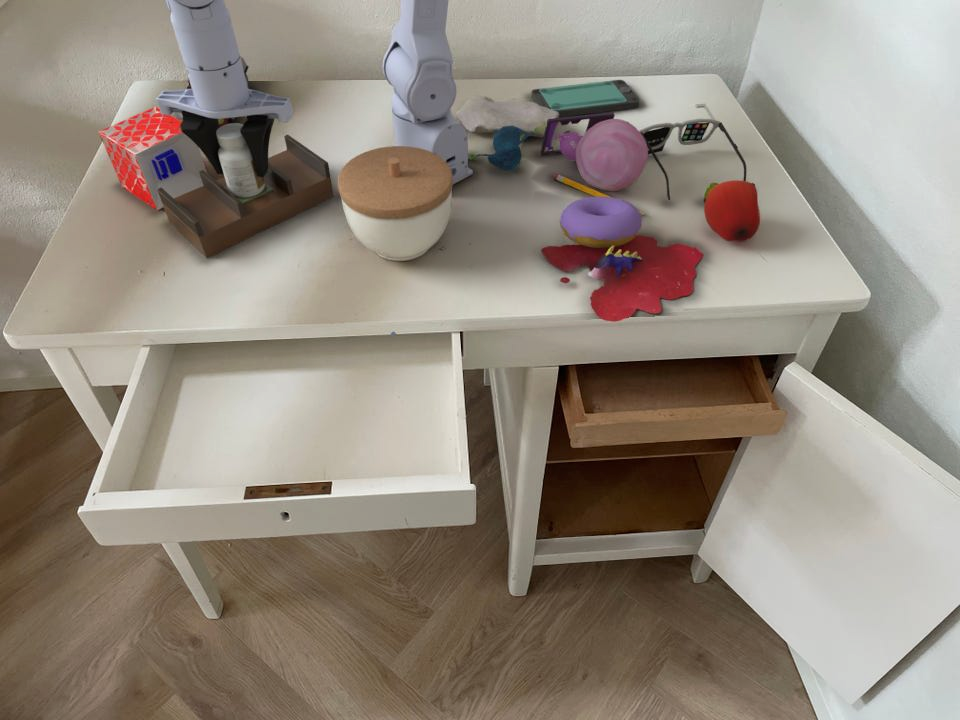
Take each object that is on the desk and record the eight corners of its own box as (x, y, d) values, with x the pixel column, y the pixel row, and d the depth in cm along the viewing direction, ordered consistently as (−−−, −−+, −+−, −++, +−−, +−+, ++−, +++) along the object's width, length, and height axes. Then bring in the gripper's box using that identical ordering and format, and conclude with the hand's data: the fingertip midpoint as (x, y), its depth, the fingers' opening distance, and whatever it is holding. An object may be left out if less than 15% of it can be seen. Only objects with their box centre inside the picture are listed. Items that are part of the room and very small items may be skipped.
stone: (472, 91, 107) (569, 100, 102) (472, 113, 109) (567, 123, 104) (443, 109, 99) (547, 120, 94) (444, 133, 101) (546, 145, 96)
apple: (786, 226, 81) (761, 164, 86) (747, 205, 78) (724, 142, 83) (732, 264, 87) (712, 203, 92) (694, 246, 83) (675, 184, 88)
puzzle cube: (174, 161, 96) (155, 106, 91) (210, 182, 93) (192, 127, 87) (121, 187, 92) (97, 131, 86) (156, 210, 89) (134, 154, 83)
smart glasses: (696, 128, 101) (708, 99, 97) (741, 201, 94) (756, 173, 90) (618, 138, 99) (627, 108, 95) (659, 214, 92) (671, 185, 88)
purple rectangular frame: (612, 107, 93) (546, 114, 92) (623, 139, 91) (555, 146, 90) (601, 142, 99) (538, 148, 98) (610, 172, 98) (547, 179, 96)
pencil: (557, 175, 94) (556, 172, 93) (646, 213, 88) (646, 210, 88) (554, 180, 94) (553, 177, 93) (643, 218, 88) (643, 215, 88)
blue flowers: (477, 161, 101) (472, 193, 96) (463, 137, 98) (458, 168, 93) (555, 129, 96) (555, 161, 91) (543, 104, 94) (542, 135, 89)
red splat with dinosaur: (655, 236, 91) (665, 203, 88) (729, 302, 81) (744, 268, 78) (532, 255, 84) (539, 220, 81) (598, 329, 74) (609, 293, 71)
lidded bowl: (456, 274, 81) (454, 192, 73) (345, 279, 80) (330, 196, 72) (452, 208, 89) (449, 128, 81) (351, 212, 89) (338, 131, 81)
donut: (632, 255, 78) (627, 213, 76) (553, 259, 83) (546, 219, 80) (651, 223, 86) (647, 184, 84) (578, 228, 90) (572, 191, 88)
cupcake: (630, 94, 91) (616, 112, 83) (667, 151, 93) (656, 173, 85) (574, 135, 96) (556, 155, 88) (610, 188, 98) (596, 212, 90)
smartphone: (641, 100, 106) (545, 111, 103) (639, 107, 107) (544, 119, 104) (622, 77, 111) (530, 87, 108) (621, 85, 112) (529, 95, 109)
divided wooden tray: (334, 196, 91) (328, 162, 87) (206, 258, 83) (194, 223, 79) (295, 168, 95) (287, 134, 92) (170, 223, 87) (156, 189, 83)
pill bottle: (270, 192, 86) (256, 134, 80) (234, 202, 85) (217, 144, 79) (259, 174, 89) (244, 117, 83) (224, 184, 87) (207, 126, 82)
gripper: (290, 45, 77) (311, 156, 87) (161, 38, 78) (196, 149, 88) (270, 76, 72) (295, 189, 82) (133, 68, 73) (174, 181, 83)
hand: (243, 171), depth 85 cm, fingers closed on pill bottle, 4 cm apart
